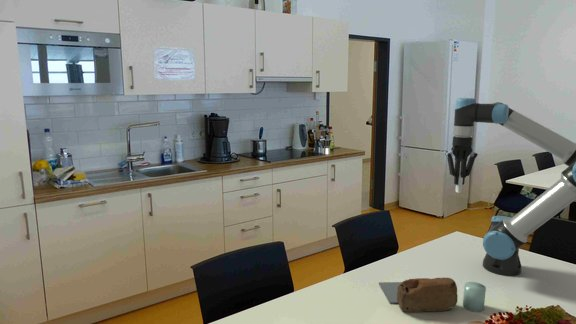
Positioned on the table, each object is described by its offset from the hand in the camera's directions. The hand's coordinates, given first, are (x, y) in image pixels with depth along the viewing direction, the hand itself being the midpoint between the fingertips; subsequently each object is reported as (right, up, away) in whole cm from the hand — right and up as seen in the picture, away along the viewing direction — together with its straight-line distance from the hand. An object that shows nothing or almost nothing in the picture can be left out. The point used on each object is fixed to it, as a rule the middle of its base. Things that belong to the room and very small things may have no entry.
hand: (458, 192), depth 180 cm
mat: (-26, -37, -16) cm, 48 cm away
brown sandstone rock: (-12, -34, -27) cm, 45 cm away
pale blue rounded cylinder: (-5, -39, -25) cm, 47 cm away
